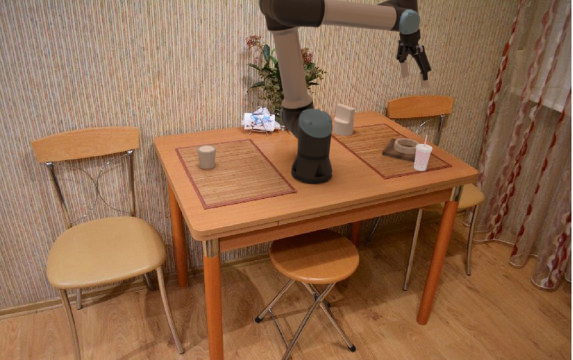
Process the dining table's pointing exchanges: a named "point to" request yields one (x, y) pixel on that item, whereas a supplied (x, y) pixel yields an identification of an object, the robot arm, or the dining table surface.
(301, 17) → the robot arm
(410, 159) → the holder
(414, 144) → the ring
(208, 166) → the gray tapered cup
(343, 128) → the cylinder with rectangular tab
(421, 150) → the beverage cup
